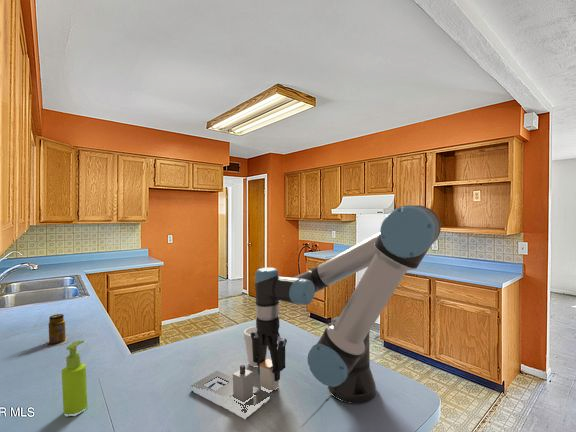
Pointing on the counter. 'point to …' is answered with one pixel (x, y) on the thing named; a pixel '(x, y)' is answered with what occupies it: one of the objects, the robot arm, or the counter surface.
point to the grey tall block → (243, 384)
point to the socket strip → (231, 389)
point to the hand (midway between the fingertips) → (269, 387)
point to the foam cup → (250, 345)
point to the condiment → (56, 330)
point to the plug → (266, 374)
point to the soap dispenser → (74, 382)
